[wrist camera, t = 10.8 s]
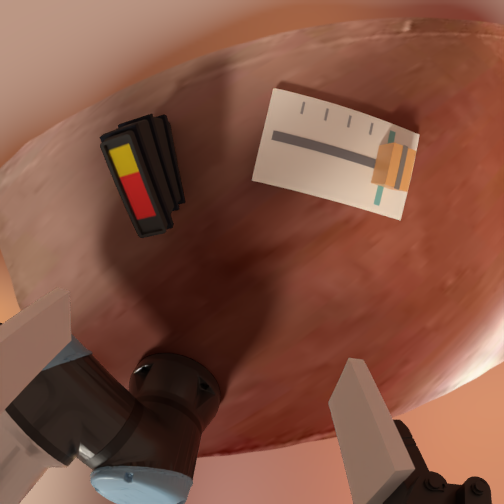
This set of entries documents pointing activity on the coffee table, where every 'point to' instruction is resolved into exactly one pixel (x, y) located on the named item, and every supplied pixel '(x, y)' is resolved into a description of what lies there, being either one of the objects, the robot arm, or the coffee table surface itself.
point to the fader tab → (393, 166)
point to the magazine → (145, 172)
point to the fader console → (328, 152)
